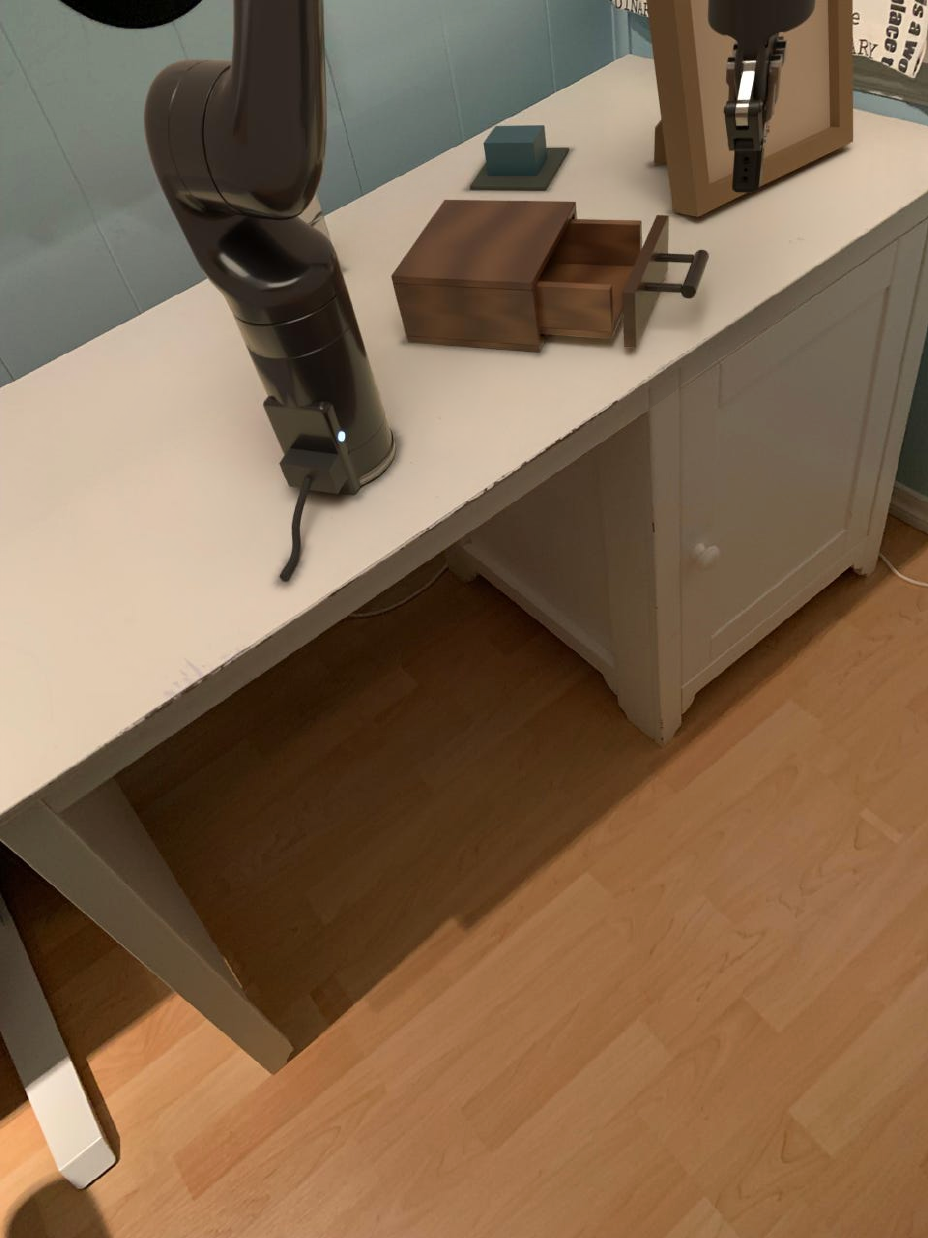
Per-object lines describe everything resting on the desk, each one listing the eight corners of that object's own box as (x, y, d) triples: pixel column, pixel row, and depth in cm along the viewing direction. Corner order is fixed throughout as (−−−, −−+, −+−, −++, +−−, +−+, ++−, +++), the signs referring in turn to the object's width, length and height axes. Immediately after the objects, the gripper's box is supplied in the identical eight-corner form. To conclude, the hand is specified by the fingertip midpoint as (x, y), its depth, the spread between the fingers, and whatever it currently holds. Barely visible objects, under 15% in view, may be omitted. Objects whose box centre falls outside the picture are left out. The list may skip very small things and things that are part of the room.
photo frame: (851, 150, 100) (898, -128, 81) (697, 225, 96) (707, -49, 77) (762, 113, 109) (784, -145, 90) (617, 180, 105) (608, -75, 86)
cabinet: (581, 270, 94) (576, 201, 89) (540, 352, 87) (531, 282, 81) (457, 264, 99) (444, 199, 94) (407, 342, 92) (390, 275, 86)
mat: (545, 190, 107) (545, 186, 106) (469, 189, 110) (469, 186, 110) (569, 150, 112) (568, 147, 112) (496, 150, 115) (495, 147, 115)
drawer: (714, 271, 88) (717, 215, 84) (686, 351, 81) (687, 295, 77) (543, 264, 95) (537, 212, 90) (503, 338, 88) (494, 285, 83)
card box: (536, 175, 108) (533, 142, 105) (488, 175, 111) (483, 142, 107) (547, 157, 111) (544, 124, 108) (499, 157, 113) (495, 125, 110)
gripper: (809, -25, 57) (780, 230, 70) (834, -95, 64) (803, 149, 77) (692, -16, 59) (685, 228, 73) (728, -85, 66) (716, 150, 80)
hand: (746, 187), depth 75 cm, fingers closed
